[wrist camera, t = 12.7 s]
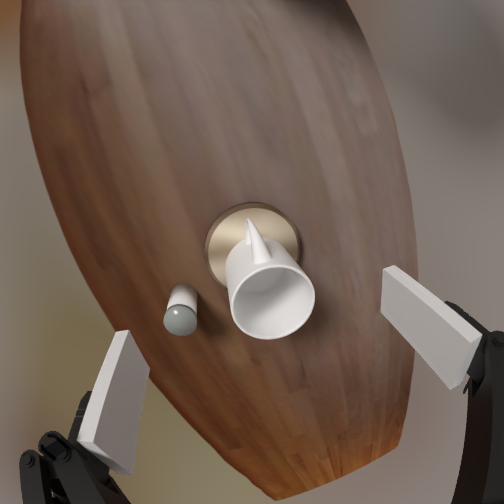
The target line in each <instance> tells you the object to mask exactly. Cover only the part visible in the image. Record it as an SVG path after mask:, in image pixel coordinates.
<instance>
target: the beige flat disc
mask: <svg viewBox="0 0 504 504" xmlns="http://www.w3.org/2000/svg"><path fill="white" fill-rule="evenodd" d="M247 218H250V219H251V220H252V222H253V223H254V224H255V226H256V227H257V229H258V231H259V233H260V234H261V236H264V237H269V238H271V239H274V240H276V241H277V242H279V243H280V244H281V245H282V246H283V247H284V248H285V249H286V251H287V252H288V253H289V254H290V255H291V257H292V258H293V259H294V260H295V262H296V263H297V264H298V261H299V257H300V250H301V246H300V238H299V235H298V232H297V229H296V227H295V226H294V224H293V223H292V221H291V220H290V219H289V218H288V217H287V216H286V215H285V214H284V213H282V212H281V211H280V210H278V209H277V208H275V207H273V206H270V205H268V204H264V203H259V202H248V203H242V204H238V205H235V206H233V207H231V208H229V209H227V210H226V211H224V212H223V213H222V214H221V215H220V216H219V217H217V218H216V220H215V221H214V222H213V224H212V225H211V227H210V229H209V231H208V234H207V237H206V241H205V261H206V265H207V268H208V270H209V272H210V274H211V276H212V277H213V279H214V280H215V281H216V282H217V283H218V284H219V285H220V286H221V287H223V288H224V289H226V290H228V287H227V281H226V272H225V266H226V260H227V258H228V255H229V253H230V252H231V250H232V249H233V248H234V247H235V245H237V244H238V243H239V242H241V241H242V240H244V239H245V234H244V228H245V220H246V219H247Z"/></svg>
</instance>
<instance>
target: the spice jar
mask: <svg viewBox="0 0 504 504" xmlns="http://www.w3.org/2000/svg"><path fill="white" fill-rule="evenodd" d="M197 299H198V295H197V292H196V290H195V289H194V288H193V287H192V286H190V285H188V284H179V285H177V286H175V287H174V288H173V289H172V291H171V295H170V299H169V303H168V307H167V310H166V312H165V316H164V325H165V327H166V329H167V330H168V331H169V332H171V333H172V334H174V335H178V336H186V335H189V334H191V333H192V332H193V331H194V330H195V329H196V326H197Z"/></svg>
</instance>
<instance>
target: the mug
mask: <svg viewBox="0 0 504 504" xmlns="http://www.w3.org/2000/svg"><path fill="white" fill-rule="evenodd" d="M244 234H245V239H244V240H242V241H241V242H239V243H238V244H237V245H235V247H234V248H233V249H232V250H231V252H230V253H229V255H228V258H227V260H226V266H225V272H226V281H227V287H228V294H229V301H230V307H231V313H232V317H233V319H234V321H235V323H236V325H237V326H238V327H239V328H240V329H241V330H242V331H243V332H245V333H246V334H248V335H250V336H252V337H255V338H259V339H277V338H281V337H284V336H287V335H289V334H291V333H293V332H294V331H296V330H297V329H299V328H300V327H301V326H302V325H303V324H304V323H305V322H306V321H307V319H308V318H309V316H310V314H311V313H312V310H313V307H314V303H315V291H314V287H313V285H312V283H311V281H310V279H309V278H308V277H307V275H306V274H305V273H304V272H303V270H302V269H301V268H300V267H299V265H298V264H297V263H296V262H295V260H294V259H293V258H292V257H291V255H290V254H289V253H288V252H287V251H286V249H285V248H284V247H283V246H282V245H281V244H280V243H279V242H277V241H276V240H274V239H271V238H269V237H264V236H261V234H260V233H259V231H258V229H257V227H256V226H255V224H254V223H253V222H252V220H251V219H250V218H247V219H246V220H245V228H244Z"/></svg>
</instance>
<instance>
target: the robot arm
mask: <svg viewBox="0 0 504 504" xmlns="http://www.w3.org/2000/svg"><path fill="white" fill-rule="evenodd" d="M381 313H382V314H383V315H384V316H385V317H386V318H387V319H388V320H389V321H390V323H391V324H392V325H393V326H394V327H395V328H396V329H397V330H398V331H399V332H400V333H401V334H402V336H403V337H404V338H405V339H406V340H407V341H408V342H409V343H410V344H411V346H412V347H413V348H414V349H415V350H416V351H417V352H418V353H419V354H420V356H421V357H422V358H423V359H424V360H425V361H426V362H427V364H428V365H429V366H430V367H431V368H432V369H433V371H434V372H435V373H436V374H437V375H438V376H439V378H440V379H441V380H442V381H443V382H444V383H445V384H446V386H447V387H448V388H449V389H450V390H451V389H453V388H455V387H456V386H457V385H459V384H460V383H462V381H463V379H464V377H465V375H466V373H467V374H468V375H469V376H470V378H469V380H468V382H467V384H466V386H465V388H464V391H463V394H465V392H466V390H467V389H468V409H467V423H466V433H465V441H464V448H463V455H462V460H461V466H460V471H459V476H458V480H457V484H456V488H455V492H454V496H453V499H452V502H451V504H504V332H502V331H493V332H489V331H488V330H487V329H486V328H484V327H483V326H482V325H481V324H480V323H478V322H477V321H476V320H475V319H474V318H472V317H471V316H469V314H467V313H466V312H464V311H463V310H462V309H461V308H460V307H459V306H457V305H456V304H453V303H451V302H448V301H446V302H442V301H441V300H440V299H439V298H437V297H436V296H435V295H434V294H432V293H431V292H430V291H428V290H427V289H426V288H424V287H423V286H422V285H420V284H419V283H418V282H417V281H415V280H414V279H413V278H411V277H410V276H408V275H407V274H406V273H404V272H403V271H402V270H400V269H399V268H398V267H396V266H395V265H393V266H390V267H387V268H384V269H383V280H382V299H381ZM149 371H150V368H149V366H148V365H147V363H146V361H145V359H144V357H143V356H142V354H141V352H140V350H139V348H138V347H137V345H136V343H135V341H134V339H133V337H132V335H131V333H130V331H129V330H125V331H119V332H116V334H115V336H114V338H113V341H112V343H111V345H110V348H109V350H108V353H107V355H106V358H105V360H104V363H103V365H102V368H101V370H100V373H99V375H98V378H97V381H96V383H95V386H94V389H93V391H88V392H87V393H86V394H85V395H84V397H83V398H82V399H81V401H80V404H79V407H78V410H77V413H76V417H75V419H74V421H73V424H72V428H71V430H70V433H69V437H68V440H66V439H65V438H64V437H63V436H62V435H61V434H60V433H58V432H56V431H49V432H47V433H45V434H44V435H43V436H42V438H41V439H40V441H39V444H38V449H39V451H40V452H41V453H42V454H43V455H44V456H41V455H40V454H38V453H37V452H36V451H34V450H27V451H25V452H24V453H23V454H22V455H21V458H20V462H19V467H20V481H21V491H22V498H23V504H131V503H130V502H129V501H128V499H127V498H126V496H125V495H124V494H123V492H122V491H121V490H120V488H119V487H118V485H117V484H116V482H115V481H114V479H113V478H112V477H111V476H110V475H109V468H110V469H111V470H113V471H114V472H116V473H117V474H123V475H133V470H134V462H135V454H136V446H137V438H138V432H139V426H140V420H141V414H142V407H143V402H144V396H145V391H146V386H147V381H148V376H149ZM51 492H53V497H52V493H51Z"/></svg>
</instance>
